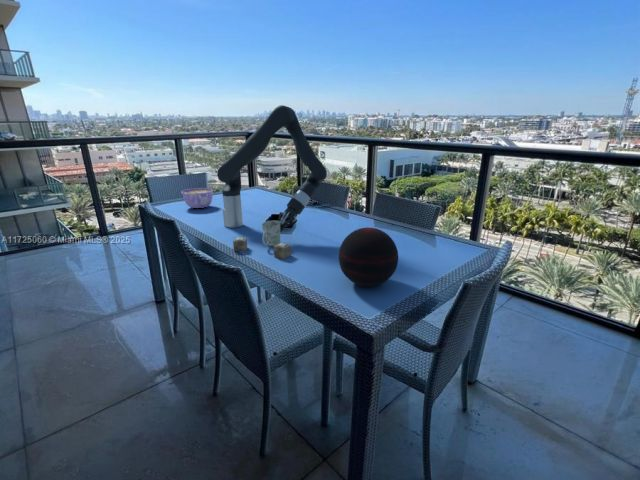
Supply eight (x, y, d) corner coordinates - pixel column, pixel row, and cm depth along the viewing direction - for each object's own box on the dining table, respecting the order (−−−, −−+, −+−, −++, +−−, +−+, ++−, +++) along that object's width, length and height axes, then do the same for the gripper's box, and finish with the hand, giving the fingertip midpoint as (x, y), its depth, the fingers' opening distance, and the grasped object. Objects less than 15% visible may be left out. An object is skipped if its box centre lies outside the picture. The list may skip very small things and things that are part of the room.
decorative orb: (357, 303, 102) (359, 242, 95) (328, 277, 119) (328, 224, 112) (408, 289, 110) (413, 233, 103) (374, 267, 127) (377, 217, 120)
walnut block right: (274, 257, 137) (273, 245, 135) (281, 253, 141) (281, 241, 139) (283, 259, 135) (283, 247, 133) (291, 255, 139) (290, 244, 137)
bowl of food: (209, 211, 210) (207, 193, 206) (178, 211, 210) (175, 193, 206) (219, 204, 229) (217, 187, 225) (190, 204, 229) (188, 187, 225)
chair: (305, 206, 222) (304, 173, 215) (292, 201, 236) (291, 170, 228) (320, 203, 229) (320, 172, 222) (307, 199, 243) (306, 169, 235)
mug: (285, 240, 154) (283, 220, 150) (273, 252, 143) (270, 231, 139) (270, 239, 157) (267, 219, 153) (257, 250, 146) (253, 230, 142)
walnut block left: (234, 252, 143) (232, 240, 141) (236, 248, 148) (235, 236, 146) (245, 251, 143) (244, 240, 141) (247, 247, 148) (246, 236, 146)
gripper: (286, 195, 155) (264, 224, 152) (301, 199, 145) (279, 231, 142) (295, 204, 160) (275, 233, 157) (311, 209, 150) (290, 240, 147)
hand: (277, 232), depth 150 cm, fingers closed
